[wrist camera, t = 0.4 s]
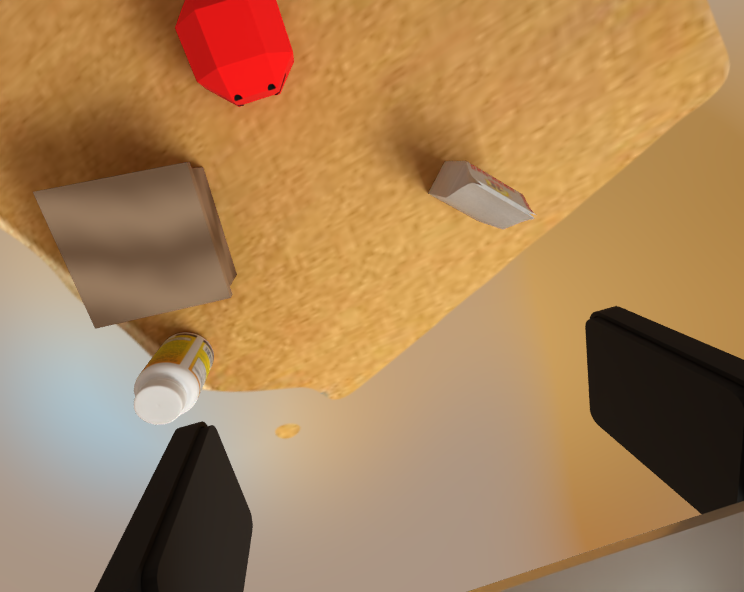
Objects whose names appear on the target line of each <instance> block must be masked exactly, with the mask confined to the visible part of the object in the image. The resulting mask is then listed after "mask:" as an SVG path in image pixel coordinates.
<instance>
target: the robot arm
mask: <svg viewBox="0 0 744 592" xmlns="http://www.w3.org/2000/svg"><path fill="white" fill-rule="evenodd" d="M585 327H586V328H585V329H586V345H587V346H586V347H587V365H588V381H589V382H588V383H589V399H590V412H591V415H592V417H593V419H594V421H595V422H596V423H597V424H598V425H599V426H600V427H601V428H602V429H603V430H605V431H606V432H607V433H608V434H609V435H610V436H611V437H613V438H614V439H615V440H616V441H617V442H618V443H620V444H621V445H622V446H623V447H624V448H625V449H626V450H628V451H629V452H630V453H631V454H632V455H634V456H635V457H636V458H637V459H638V460H639V461H640V462H642V463H643V464H644V465H645V466H646V467H647V468H649V469H650V470H651V471H652V472H653V473H654V474H656V475H657V476H658V477H659V478H660V479H661V480H663V481H664V482H665V483H666V484H667V485H668V486H670V487H671V488H672V489H673V490H674V491H675V492H676V493H678V494H679V495H680V496H681V497H682V498H684V499H685V500H686V501H687V502H688V503H689V504H690V505H692V506H693V507H694V508H695V509H697V510H698V511H699V512H700V513H701V514H702V515H699V516H696V517H692V518H689V519H687V520H683V521H680V522H677V523H674V524H671V525H668V526H665V527H662V528H659V529H656V530H652V531H649V532H647V533H643V534H640V535H637V536H634V537H631V538H628V539H625V540H622V541H618V542H616V543H612V544H609V545H606V546H603V547H601V548H597V549H594V550H591V551H589V552H585V553H582V554H579V555H576V556H573V557H570V558H567V559H564V560H561V561H558V562H555V563H552V564H549V565H546V566H543V567H540V568H537V569H534V570H531V571H528V572H525V573H522V574H519V575H516V576H513V577H510V578H507V579H504V580H501V581H498V582H495V583H492V584H489V585H486V586H483V587H480V588H477V589H474V590H471V591H468V592H744V360H743V359H741V358H738V357H736V356H734V355H731V354H729V353H726V352H724V351H722V350H719V349H717V348H715V347H712V346H710V345H708V344H705V343H703V342H701V341H698V340H696V339H694V338H691V337H689V336H687V335H684V334H682V333H679V332H677V331H675V330H672V329H670V328H668V327H665V326H663V325H661V324H658V323H656V322H654V321H651V320H649V319H647V318H644V317H642V316H640V315H637V314H635V313H633V312H630V311H628V310H626V309H623V308H621V307H617V306H615V307H611V308H607V309H604V310H600V311H596V312H593V313H592V314H591V316H590V319H589V320H588V321H587V322H586V326H585ZM252 525H253V524H252V516H251V513H250V510H249V508H248V505H247V502H246V500H245V498H244V495H243V493H242V490H241V488H240V485H239V483H238V480H237V478H236V476H235V473H234V471H233V468H232V466H231V464H230V461H229V459H228V456H227V454H226V451H225V449H224V446H223V444H222V442H221V439H220V437H219V434H218V432H217V429H216V428H215V427H214V426H213V425H211V426H207V425H206V423H205V422H198V423H195V424H191V425H188V426H184V427H180V428H178V429H176V431H175V432H174V434H173V436H172V438H171V440H170V442H169V444H168V446H167V448H166V450H165V452H164V454H163V456H162V458H161V460H160V462H159V464H158V466H157V468H156V470H155V472H154V474H153V476H152V478H151V480H150V482H149V484H148V486H147V488H146V490H145V492H144V494H143V496H142V498H141V500H140V502H139V504H138V506H137V508H136V510H135V512H134V514H133V516H132V518H131V520H130V522H129V524H128V526H127V528H126V530H125V532H124V534H123V536H122V538H121V540H120V542H119V544H118V546H117V548H116V550H115V552H114V554H113V556H112V558H111V560H110V562H109V564H108V566H107V568H106V570H105V572H104V574H103V576H102V578H101V580H100V582H99V583H98V586H97V588H96V590H95V591H94V592H243V590H244V583H245V576H246V570H247V563H248V556H249V549H250V542H251V536H252V528H253V526H252Z"/></svg>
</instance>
